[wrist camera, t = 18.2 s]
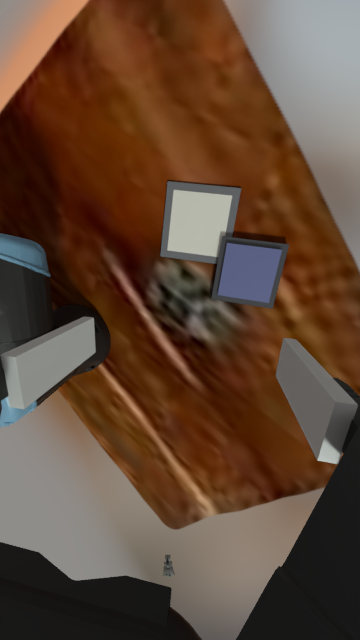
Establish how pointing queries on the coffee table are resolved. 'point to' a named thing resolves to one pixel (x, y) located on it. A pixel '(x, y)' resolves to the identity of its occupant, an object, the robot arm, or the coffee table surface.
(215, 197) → the grey picture frame
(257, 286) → the ink pad
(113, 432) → the coffee table surface
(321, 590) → the robot arm
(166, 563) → the grey lumpy piece
